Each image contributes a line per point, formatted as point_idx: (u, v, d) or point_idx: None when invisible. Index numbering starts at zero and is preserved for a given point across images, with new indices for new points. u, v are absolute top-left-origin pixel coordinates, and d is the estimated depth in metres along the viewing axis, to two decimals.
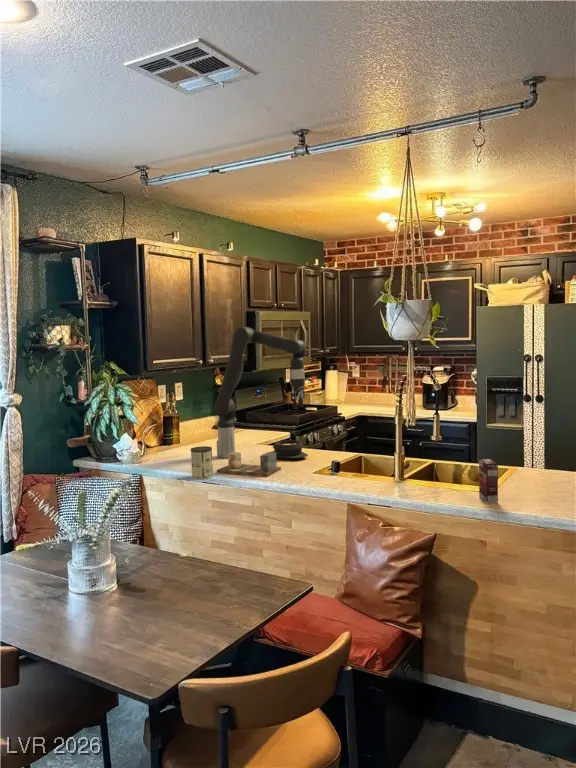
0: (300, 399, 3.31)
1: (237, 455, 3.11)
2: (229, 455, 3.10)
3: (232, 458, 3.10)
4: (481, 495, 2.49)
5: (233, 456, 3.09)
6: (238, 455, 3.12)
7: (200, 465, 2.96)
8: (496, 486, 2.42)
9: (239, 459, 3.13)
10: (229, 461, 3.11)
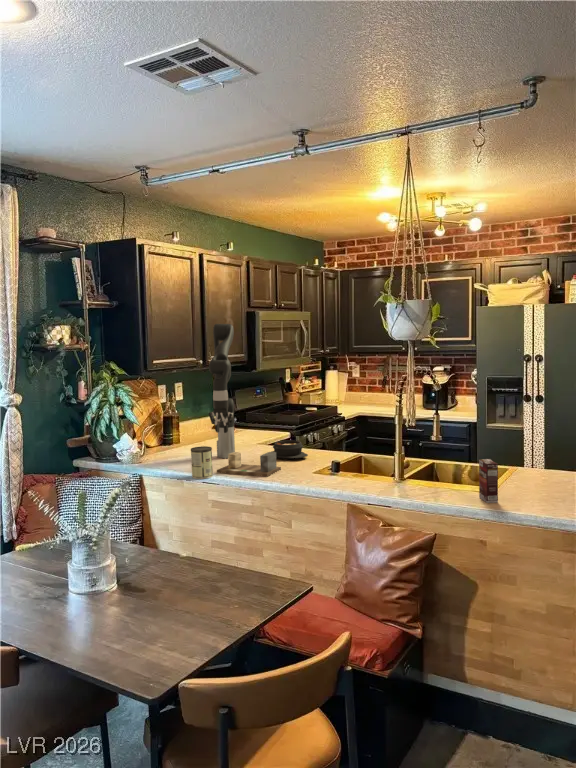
0: (217, 423, 3.15)
1: (237, 455, 3.11)
2: (229, 455, 3.10)
3: (232, 458, 3.10)
4: (481, 495, 2.49)
5: (233, 456, 3.09)
6: (238, 455, 3.12)
7: (200, 465, 2.96)
8: (496, 486, 2.42)
9: (239, 459, 3.13)
10: (229, 461, 3.11)
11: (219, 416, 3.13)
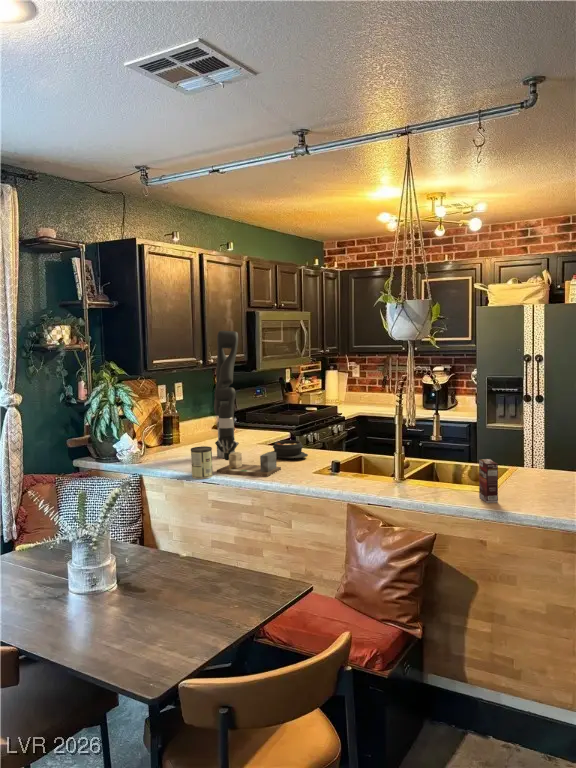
0: None
1: (238, 455, 3.11)
2: (230, 455, 3.10)
3: (233, 458, 3.10)
4: (481, 495, 2.49)
5: (234, 456, 3.09)
6: (239, 455, 3.12)
7: (200, 465, 2.96)
8: (496, 486, 2.42)
9: (240, 459, 3.13)
10: (230, 461, 3.10)
11: (225, 443, 3.13)
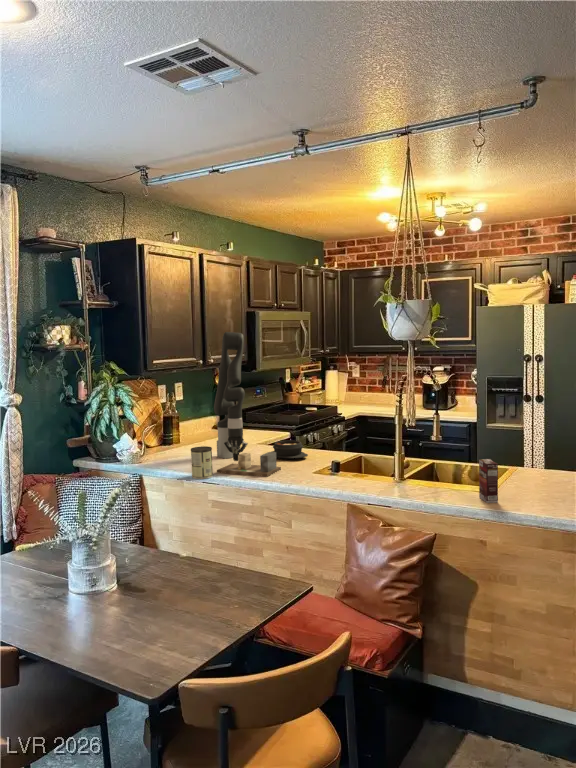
0: None
1: (247, 456, 3.09)
2: (239, 456, 3.08)
3: (242, 459, 3.08)
4: (481, 495, 2.49)
5: (243, 457, 3.07)
6: (248, 455, 3.10)
7: (200, 465, 2.96)
8: (496, 486, 2.42)
9: (249, 460, 3.11)
10: (239, 462, 3.08)
11: (234, 443, 3.10)
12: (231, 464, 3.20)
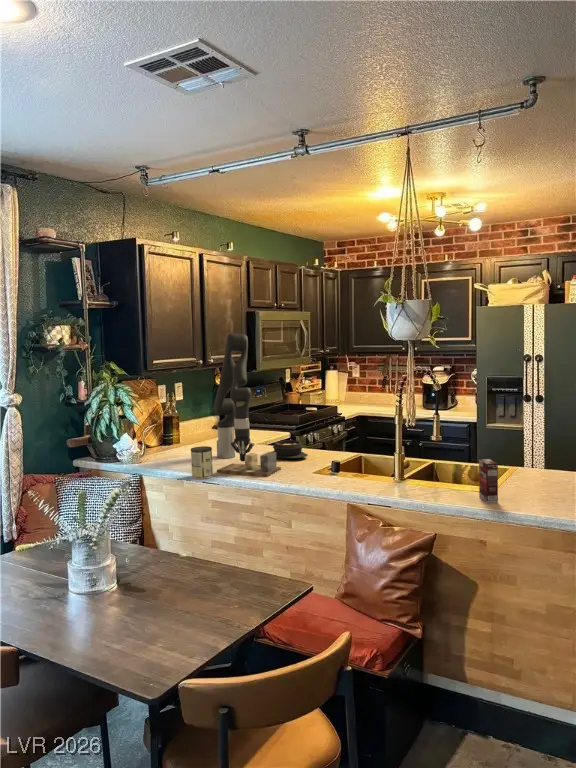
0: None
1: (254, 456, 3.07)
2: (246, 456, 3.07)
3: (249, 459, 3.06)
4: (481, 495, 2.49)
5: (250, 457, 3.06)
6: (255, 456, 3.08)
7: (200, 465, 2.96)
8: (496, 486, 2.42)
9: (256, 460, 3.09)
10: (246, 462, 3.07)
11: (241, 444, 3.09)
12: (231, 464, 3.20)
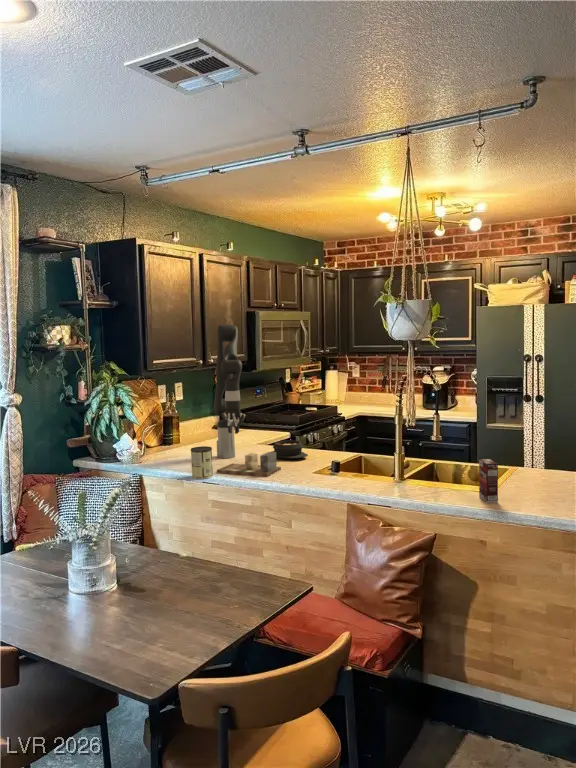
0: (230, 424, 3.12)
1: (254, 456, 3.07)
2: (246, 456, 3.07)
3: (249, 459, 3.06)
4: (481, 495, 2.49)
5: (250, 457, 3.06)
6: (255, 456, 3.08)
7: (200, 465, 2.96)
8: (496, 486, 2.42)
9: (256, 460, 3.09)
10: (246, 462, 3.07)
11: (231, 416, 3.10)
12: (231, 464, 3.20)
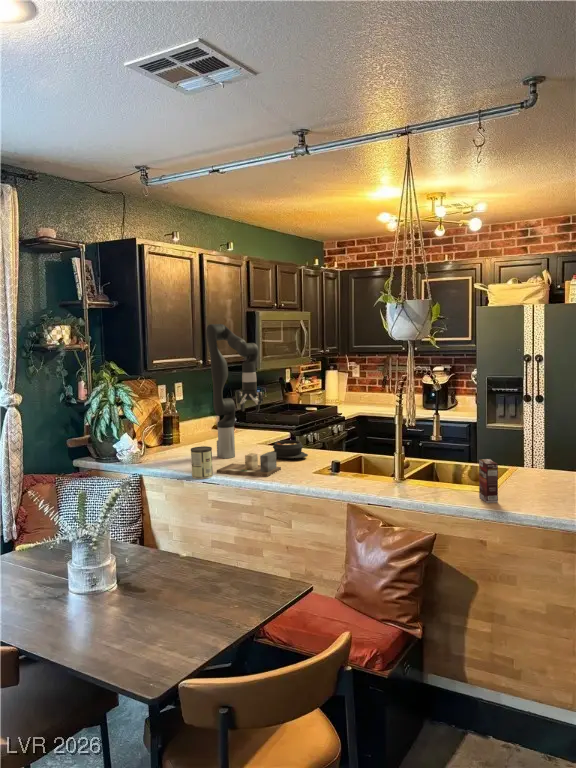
0: (243, 403, 3.27)
1: (254, 456, 3.07)
2: (246, 456, 3.07)
3: (249, 459, 3.06)
4: (481, 495, 2.49)
5: (250, 457, 3.06)
6: (255, 456, 3.08)
7: (200, 465, 2.96)
8: (496, 486, 2.42)
9: (256, 460, 3.09)
10: (246, 462, 3.07)
11: (247, 398, 3.25)
12: (231, 464, 3.20)
